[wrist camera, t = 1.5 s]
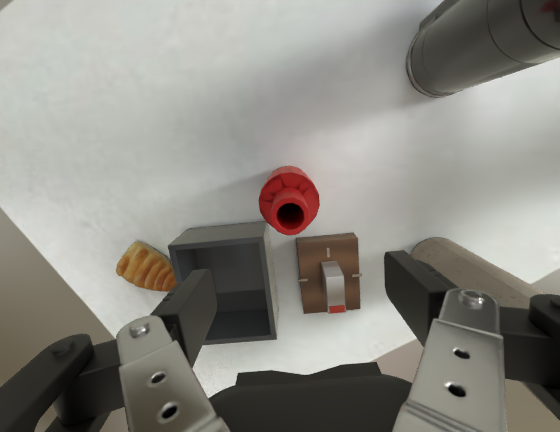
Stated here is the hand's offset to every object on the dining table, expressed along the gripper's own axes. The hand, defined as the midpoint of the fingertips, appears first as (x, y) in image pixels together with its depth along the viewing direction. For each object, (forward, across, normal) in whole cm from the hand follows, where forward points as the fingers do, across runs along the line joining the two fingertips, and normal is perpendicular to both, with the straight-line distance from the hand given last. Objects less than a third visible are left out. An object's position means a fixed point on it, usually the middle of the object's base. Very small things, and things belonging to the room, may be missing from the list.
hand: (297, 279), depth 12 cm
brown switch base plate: (+28, -5, +14) cm, 32 cm away
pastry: (+29, +24, +10) cm, 38 cm away
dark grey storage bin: (+28, +10, +12) cm, 32 cm away
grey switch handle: (+26, -5, +14) cm, 30 cm away
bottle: (+28, 0, 0) cm, 28 cm away
